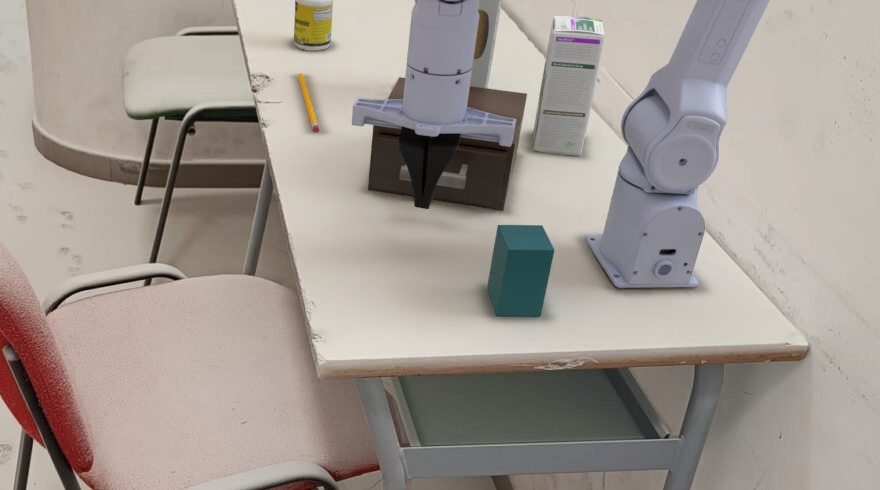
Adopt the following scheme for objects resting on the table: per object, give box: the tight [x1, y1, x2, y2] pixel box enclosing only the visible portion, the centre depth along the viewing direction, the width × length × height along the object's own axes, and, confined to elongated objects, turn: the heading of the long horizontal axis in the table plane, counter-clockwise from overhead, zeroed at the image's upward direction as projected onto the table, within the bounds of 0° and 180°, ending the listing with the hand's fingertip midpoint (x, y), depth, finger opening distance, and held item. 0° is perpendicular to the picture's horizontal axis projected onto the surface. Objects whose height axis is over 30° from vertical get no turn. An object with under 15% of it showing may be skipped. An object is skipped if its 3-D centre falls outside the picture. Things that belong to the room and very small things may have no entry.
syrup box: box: [532, 15, 606, 157], centre depth 116 cm, size 6×6×14 cm
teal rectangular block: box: [486, 224, 555, 317], centre depth 89 cm, size 4×4×7 cm
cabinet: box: [367, 76, 528, 212], centre depth 111 cm, size 15×15×8 cm
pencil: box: [297, 72, 320, 133], centre depth 129 cm, size 1×18×1 cm, turn 5°
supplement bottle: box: [293, 0, 334, 52], centre depth 144 cm, size 5×5×10 cm
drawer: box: [371, 133, 508, 208], centre depth 108 cm, size 18×13×6 cm
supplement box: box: [470, 0, 503, 89], centre depth 126 cm, size 10×9×17 cm
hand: (423, 203), depth 96 cm, fingers closed
